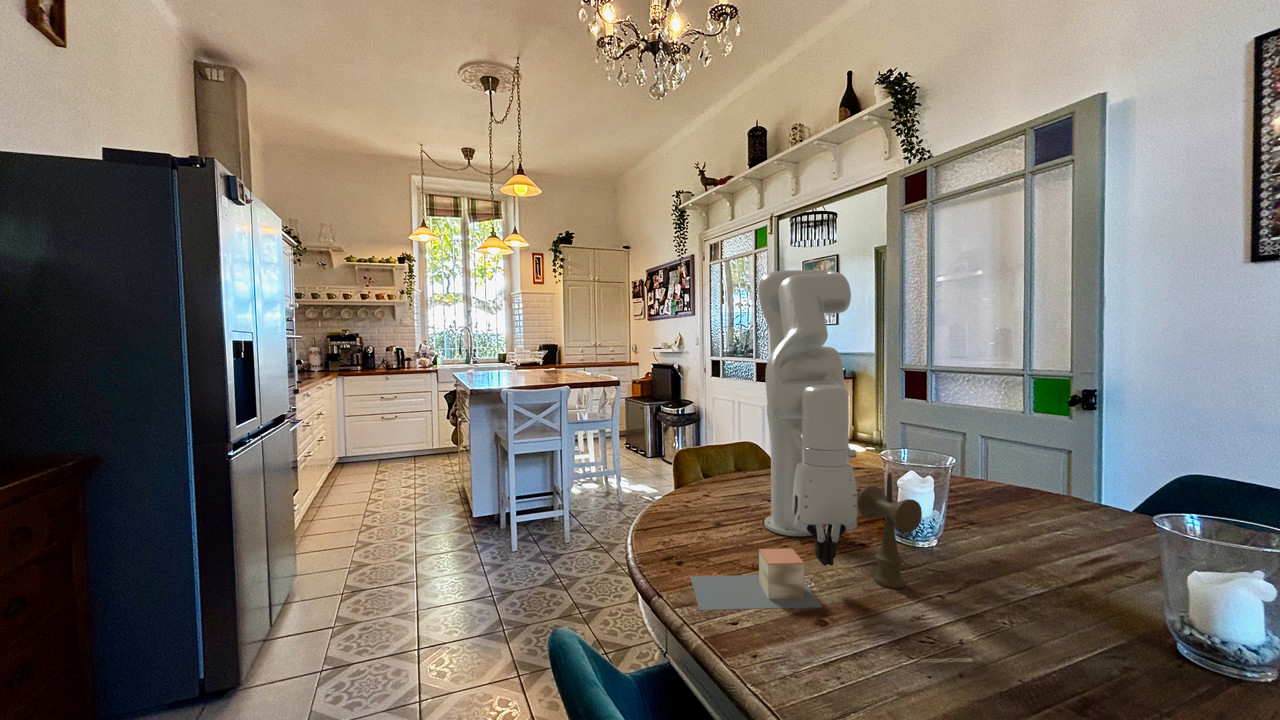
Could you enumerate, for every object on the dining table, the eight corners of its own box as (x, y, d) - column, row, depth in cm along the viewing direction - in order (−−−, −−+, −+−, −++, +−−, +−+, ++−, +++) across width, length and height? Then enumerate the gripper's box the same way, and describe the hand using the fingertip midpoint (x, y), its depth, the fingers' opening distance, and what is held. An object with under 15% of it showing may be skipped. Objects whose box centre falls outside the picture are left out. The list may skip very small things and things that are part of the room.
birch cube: (792, 581, 93) (792, 548, 92) (803, 598, 87) (803, 562, 86) (759, 582, 92) (758, 549, 92) (768, 598, 86) (768, 563, 86)
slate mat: (797, 576, 96) (797, 573, 96) (822, 609, 84) (822, 606, 84) (690, 578, 95) (690, 576, 95) (699, 612, 83) (699, 609, 83)
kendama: (881, 570, 98) (881, 465, 97) (924, 593, 89) (925, 477, 88) (855, 575, 96) (855, 468, 95) (898, 599, 86) (898, 481, 86)
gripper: (858, 451, 93) (858, 552, 94) (775, 453, 93) (776, 554, 93) (878, 461, 85) (878, 570, 86) (789, 462, 85) (789, 572, 86)
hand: (825, 562), depth 90 cm, fingers closed
